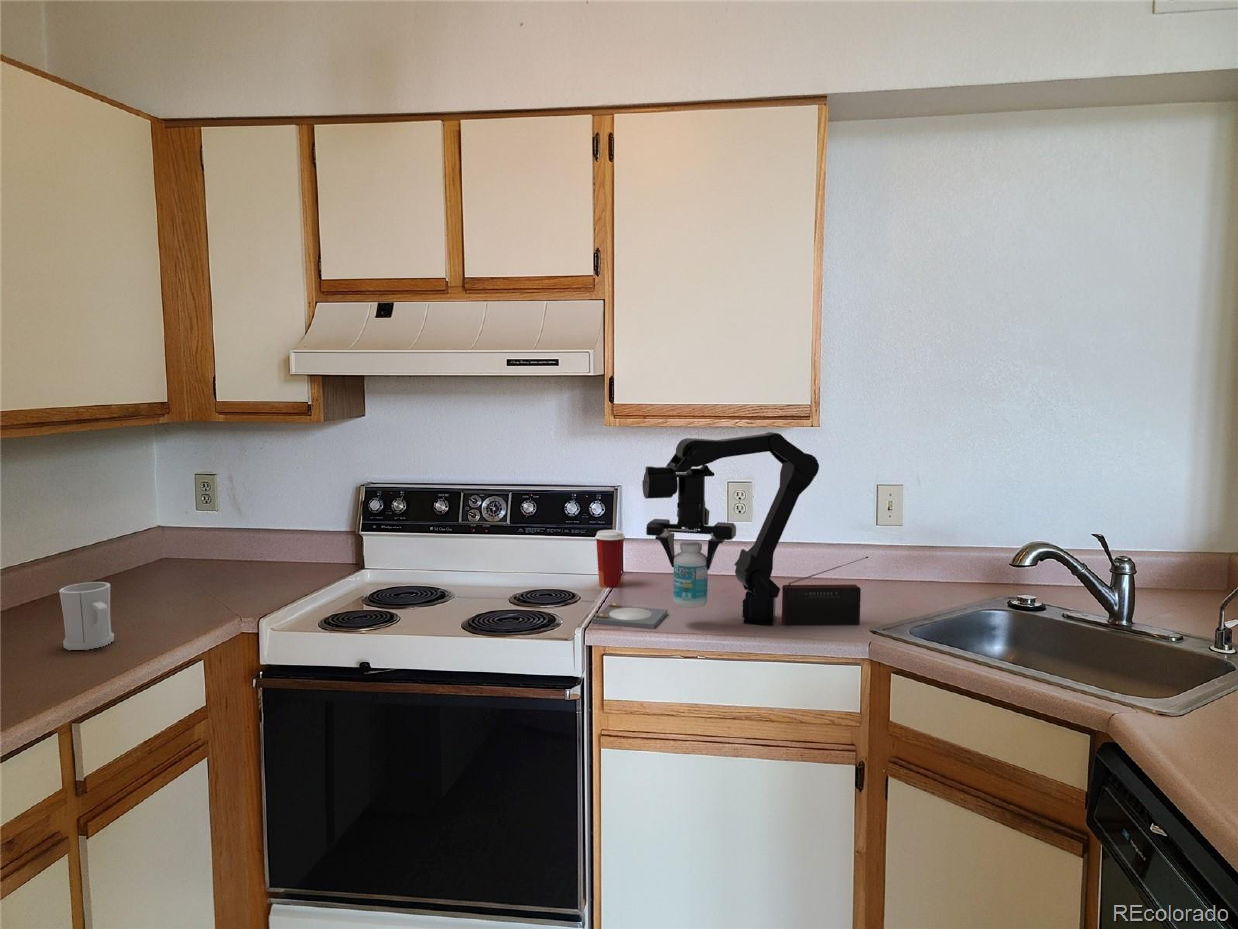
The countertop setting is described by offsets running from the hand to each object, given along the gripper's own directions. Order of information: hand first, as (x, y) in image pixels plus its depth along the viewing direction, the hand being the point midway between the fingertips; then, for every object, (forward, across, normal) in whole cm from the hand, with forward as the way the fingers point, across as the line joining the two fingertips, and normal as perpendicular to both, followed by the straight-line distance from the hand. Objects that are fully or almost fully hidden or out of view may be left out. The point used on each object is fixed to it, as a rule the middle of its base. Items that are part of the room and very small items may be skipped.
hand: (690, 568), depth 186 cm
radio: (+13, -28, -10) cm, 32 cm away
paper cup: (+13, +28, -28) cm, 42 cm away
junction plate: (+13, +14, -1) cm, 19 cm away
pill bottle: (+8, 0, 0) cm, 8 cm away
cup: (+13, +113, +50) cm, 124 cm away
